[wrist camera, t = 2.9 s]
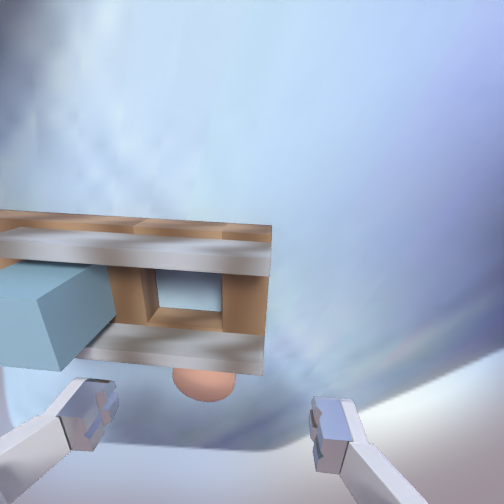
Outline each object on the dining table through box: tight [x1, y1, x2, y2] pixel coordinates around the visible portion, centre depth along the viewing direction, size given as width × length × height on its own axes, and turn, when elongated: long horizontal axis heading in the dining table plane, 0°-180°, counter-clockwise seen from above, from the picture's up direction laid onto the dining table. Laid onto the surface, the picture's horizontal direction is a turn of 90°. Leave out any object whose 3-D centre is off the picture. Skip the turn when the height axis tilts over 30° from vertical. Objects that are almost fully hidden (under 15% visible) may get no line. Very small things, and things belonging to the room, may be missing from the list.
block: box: [0, 259, 116, 372], centre depth 15 cm, size 4×4×5 cm
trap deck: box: [0, 210, 272, 376], centre depth 17 cm, size 23×9×4 cm, turn 88°
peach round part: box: [173, 368, 236, 402], centre depth 22 cm, size 6×6×1 cm
